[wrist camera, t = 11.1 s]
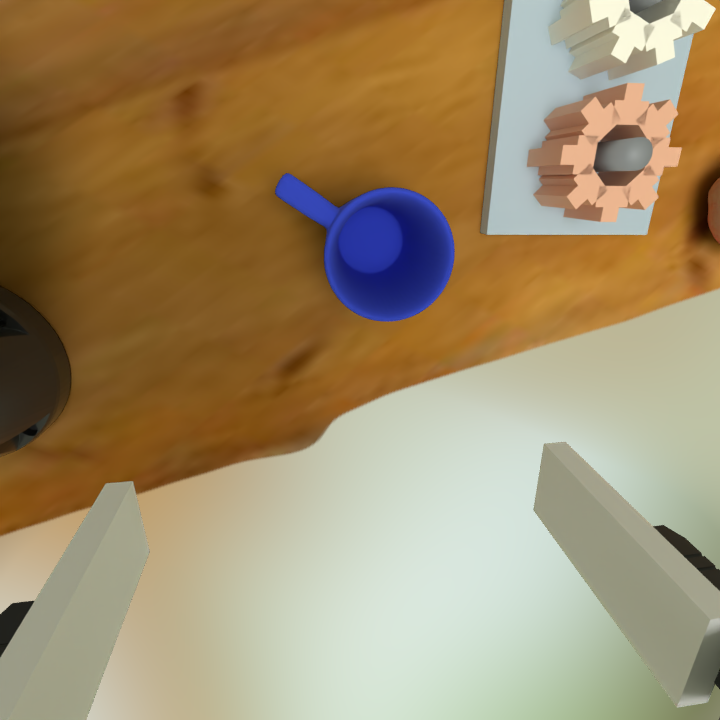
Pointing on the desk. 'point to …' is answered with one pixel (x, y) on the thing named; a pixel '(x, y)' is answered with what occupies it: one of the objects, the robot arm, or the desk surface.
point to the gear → (624, 33)
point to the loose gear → (578, 149)
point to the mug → (380, 248)
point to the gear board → (527, 129)
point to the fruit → (714, 210)
